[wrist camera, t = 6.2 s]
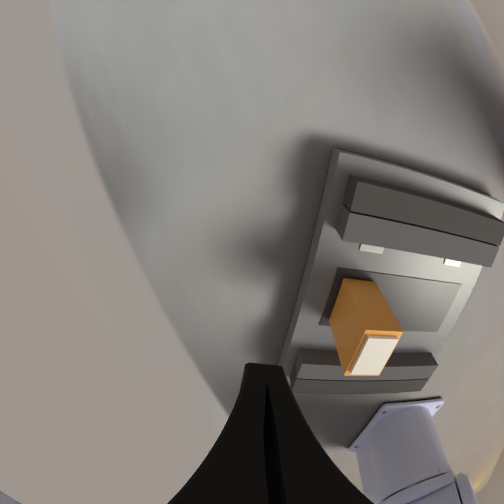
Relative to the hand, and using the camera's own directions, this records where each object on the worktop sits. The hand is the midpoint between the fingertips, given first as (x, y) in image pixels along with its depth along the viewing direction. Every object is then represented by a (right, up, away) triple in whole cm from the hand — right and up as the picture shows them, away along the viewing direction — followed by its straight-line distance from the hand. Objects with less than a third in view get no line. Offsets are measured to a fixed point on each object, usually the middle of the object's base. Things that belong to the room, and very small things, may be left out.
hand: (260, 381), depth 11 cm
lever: (+5, +2, +6) cm, 8 cm away
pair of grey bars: (+9, +2, +6) cm, 11 cm away
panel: (+9, +2, +8) cm, 12 cm away
